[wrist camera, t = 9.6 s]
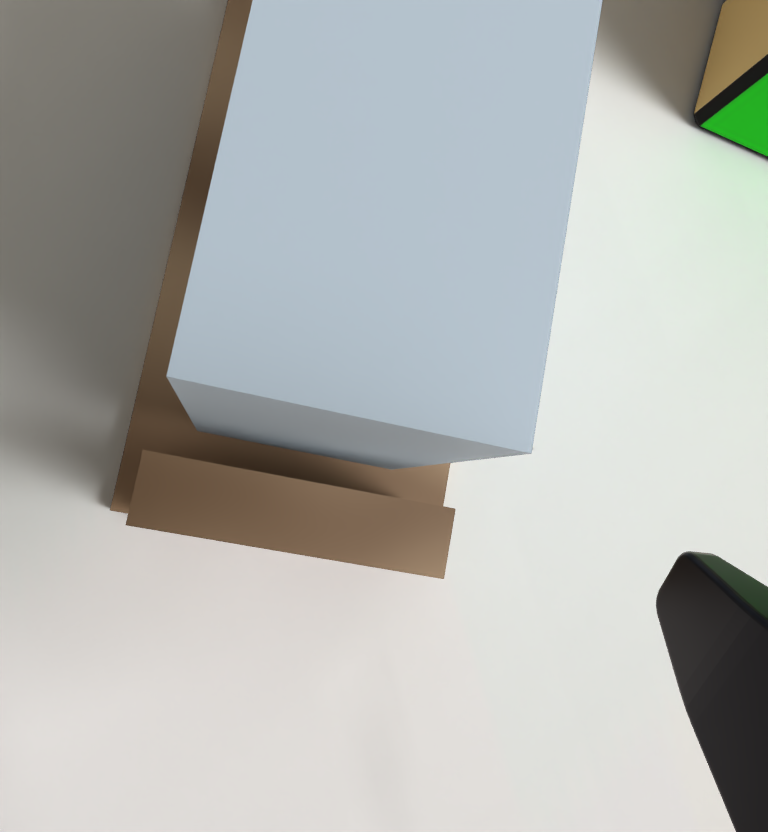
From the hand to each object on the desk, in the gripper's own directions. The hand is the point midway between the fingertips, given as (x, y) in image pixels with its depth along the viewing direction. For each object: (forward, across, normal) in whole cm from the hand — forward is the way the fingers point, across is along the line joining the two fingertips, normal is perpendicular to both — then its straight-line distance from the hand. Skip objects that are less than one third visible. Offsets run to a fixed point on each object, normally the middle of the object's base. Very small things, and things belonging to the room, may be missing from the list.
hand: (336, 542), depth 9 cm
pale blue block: (+12, 0, -1) cm, 12 cm away
